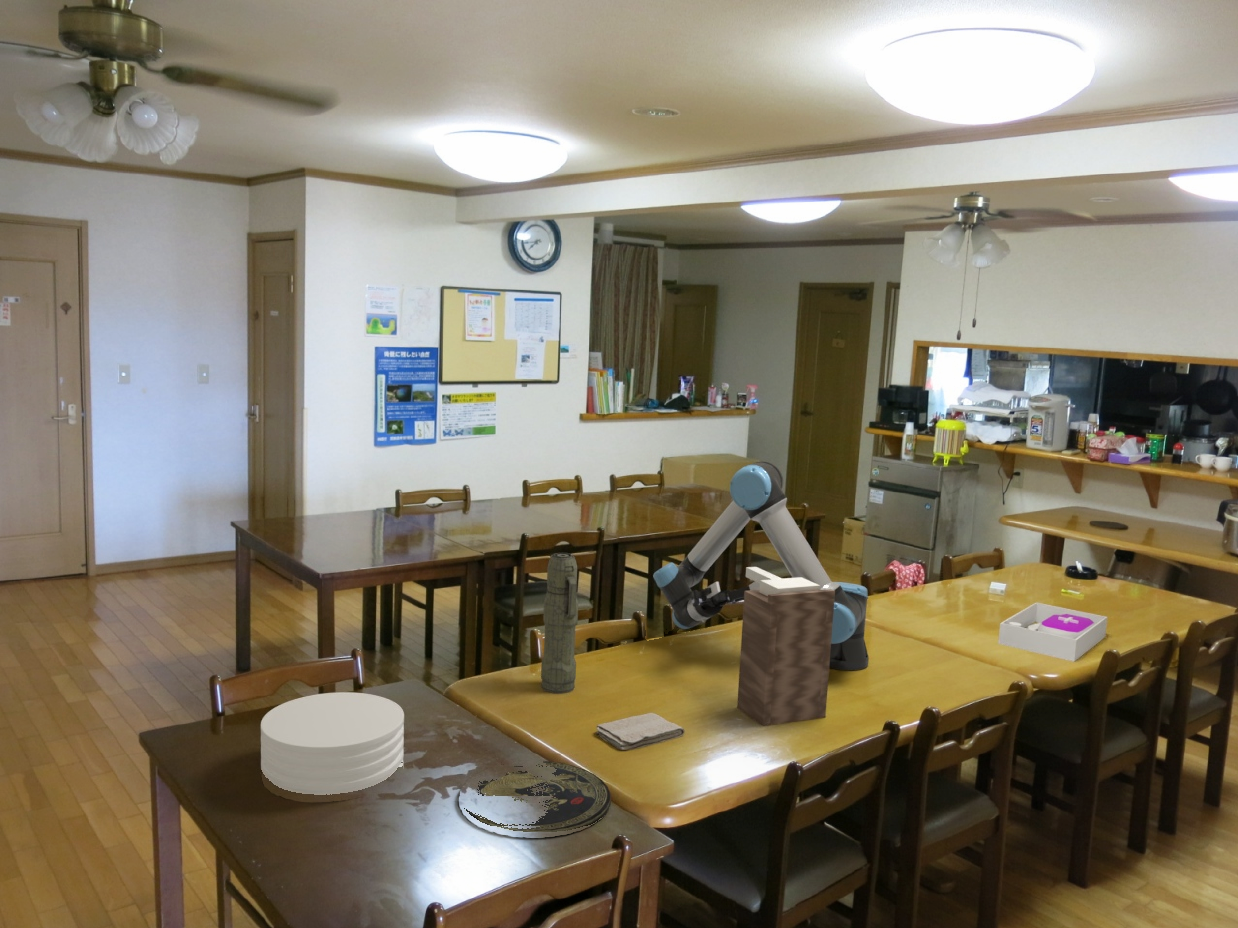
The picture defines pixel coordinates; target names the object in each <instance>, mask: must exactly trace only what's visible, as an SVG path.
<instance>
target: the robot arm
mask: <svg viewBox="0 0 1238 928" xmlns="http://www.w3.org/2000/svg"><path fill="white" fill-rule="evenodd" d="M783 487H784V476H783V473H782V471H781V470H780V468H779V467H778V466H777V465H775V464H773V463H772V462H769V461H764V460H763V461H762V460H761V461H757V462H754V463H751V464H748V465H745V466H743V467H742V468H740V469H739V470H737V471H736V472H735V473H734V475H733V476H732V477H731V480H730V485H729V494H730V497H731V499H732V501H731V502H730V504H729V505H728V506H727V507H726V508H725V509H724V510H723V512H722V513H721V514H720V516H718V518H717V519H716V520H715V522H714V523H713V524H712V525H711V526H710V528H708V530H707V531H706V532H705V533H704V535H703V536H702V537H701V538H700V539H699V541H698V542H697V543H696V544H695V545H694V546H693V548H692V549H691V550H690V552H689V553H688V554H687V555H686V556H685V558H684V559H683V560H682V561H681V563H679V565H678V566H677V564H675V563H674V562H669V563H667V564H665V565H663V566H662V567H661V568H659V569H658V570H656V571H655V572H654V573H653V575H652V576H653V580H654V581H655V583H656V586H657V587H658V588H659V589H660V591H661V592H662V594H663V596H664V597H665V599H666V601H667V602H668V603H669V606H671V609H672V615H671V616H672V621H673V624H675V626H676V627H678V628H679V629H681V630H682V629H683V630H688V629H690V628H694V627H696V626H698V625H700V624H702V623H703V624H704V623H706V621H707V620H709V619H710V618H712V617H715V616H716V615H718V614H719V613H720V612H721V611H722V609H723V607H724V606H725V605H727V604H734V605H735V604H736V603H739V602H741V601H744V592H745V591H749V590H760V583H757V582H755V581H753V582H750V584H748V586H745V587H741V588H738V589H734V590H731V589H727V590H726V589H725V590H723V591H721V587H720V582H719V581H715V582H713V583H711V584H710V585H708V586H706V587H704V588H701V589H700V590H697V589H694V590H692V589H691V588H692V587H694V586H696V585H698V584H699V583H700V582H701V581H702V580H703V577H704V575H705V574H706V573H707V572H708V570H709V569H710V567H712V565H713V564H714V563H715V562H716V560H718V559H719V557H720V556H721V555H722V553H723V552H725V550H726V549H727V548H728V547H729V546H730V544H731V543H732V542H733V541H734V540H735V538H736V537H737V536H738V535H739V534H740V533H741V531H742V530H743V529H744V527H746V525H747V524H749V522H750V521H754V522H757V523H759V525H760V526H761V528H762V529H763V531H764V533H765V535H766V536H767V538H768V539H769V541H770V543H771V544H772V546H773V548H774V550H775V551H776V553H777V555H778V556H779V557H780V559H781V561H782V563H783V565H784V566H785V567H786V569H787V571H788V572H789V574H790V576H791V578H798V577H802V578H804V579H807V580H809V581H811V582H813V583H816V584H818V585H820V590H828V589H832V590H834V591H835V599H834V612H833V625H832V638H831V651H830V664H829V669H830V668H831V669H835V670H840V671H858V670H859V671H860V670H863V669H866V668H867V667H868V666H869V659H870V658H869V654H868V650H867V645H866V644H867V643H866V642H865V630H866V629H865V628H866V619H867V618H866V617H867V606H868V605H867V604H868V599H869V597H868V588H866V587H865V585H864V586H863V585H861V584H856V583H850V582H841V581H832V580H831V578H830V577H829V574H827V572H826V570H825V569H824V567H823V566H822V563H821V562H820V560H819V559H818V557H817V555H816V554H815V551H813V549H812V548H811V547H812V546H811V545H810V544H809V542H808V541H807V539H806V538H805V536H804V534H803V533H802V531H801V529H800V528H799V526H798V524H797V522H796V521H795V519H794V517H793V516H792V515H791V513H790V511H789V510H788V508H787V502H788V498H787V496H786V494H785V493H784V491H783Z"/></svg>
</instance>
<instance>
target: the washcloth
mask: <svg viewBox="0 0 1238 928" xmlns="http://www.w3.org/2000/svg"><path fill="white" fill-rule="evenodd" d="M596 730H597V731H596V732H595V733H596V735H598V736H599V737H600V738H601V739H602V740H603V741H605V742H607V743H609V744H610V745H612V746H613V747H615V748H616V749H618V750H620V751H631V750H636V749H637V750H638V749H639V748H640V749H641V748H644V747H648V746H652V745H655V744H659V743H663V742H667V741H671V740H673V739H677V738H681V737H682V736H684V734H685V728H683V727H682V726H680V725H678V724H676V723H674V722H670V721H669V720H666V718H664V717H662V716H661V715H659V714H656V713H654V712H648V713H644V714H639V715H634V716H629V717H626V718H620V719H617V720H613V721H608V722H604V723H599V724H598V725H597V726H596Z"/></svg>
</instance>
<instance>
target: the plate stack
mask: <svg viewBox="0 0 1238 928" xmlns="http://www.w3.org/2000/svg"><path fill="white" fill-rule="evenodd" d="M404 723H405V712H404V710H403V708H402V707H401V706H400V705H399V704H398V703H396V702H395V701H394V700H392V699H388V698H387V697H383V696H380V695H375V694H370V693H362V692H353V691H352V692H349V691H348V692H340V691H339V692H327V693H317V694H312V695H307V696H303V697H299V698H295V699H292V700H288V701H286V702H283V703H281V704H279V705H278V706H275V707H274V708H272V709H271V710H269V711H267V713H266V714H265V715H264V716H263V717H262V720H261V721H260V745H261V746H260V769H261V770H262V772H263V774H264V775H265V777H266V778H268V779H269V781H271V782H272V783H273V784H274V785H276V786H278V787H279V788H282V789H284V790H288V791H291V792H296V793H302V794H314V795H326V794H327V795H330V794H331V795H332V794H340V793H348V792H353V791H358V790H362V789H365V788H368V787H371V786H374V785H376V784H378V783H380V782H382V781H384V780H386V779H387V778H388V777H390V776H391V775H392V774H393V773H394V772H395V771H396V770H397V768H398V767H402V766H403V767H404V755H405V753H404V751H405V750H404V746H405V745H404V743H405V738H404V734H405V726H404ZM401 762H403V763H401ZM261 770H260V771H261Z"/></svg>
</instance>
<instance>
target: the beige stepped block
mask: <svg viewBox="0 0 1238 928" xmlns="http://www.w3.org/2000/svg"><path fill="white" fill-rule="evenodd" d="M745 578H747V579H749V580H751V581H753V582H757V583H760V590H759V592H760V593H762V594H764V595H766V596H768V594H778V593H791V592H803V591H815V590H820V585H818V584H816V583H813V582H811V581H809V580H807V579H804V578H802V577H798V578H792V577H787V578H786V577H785V578H783V577H779V576H778V575H775V574H773V573H771V572H769V571H766V570H764V569H762V568H760V567H757V566H748V567H745Z"/></svg>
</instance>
